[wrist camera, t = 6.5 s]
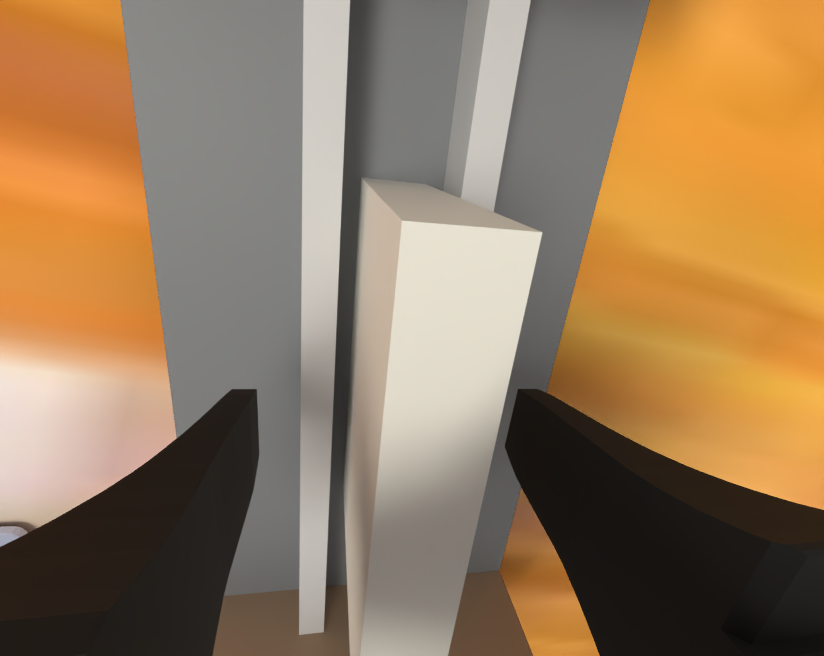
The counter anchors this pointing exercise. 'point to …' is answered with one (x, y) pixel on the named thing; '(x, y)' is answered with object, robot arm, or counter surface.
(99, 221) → the counter surface
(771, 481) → the counter surface
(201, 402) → the cabinet base
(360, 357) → the door panel
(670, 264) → the counter surface
